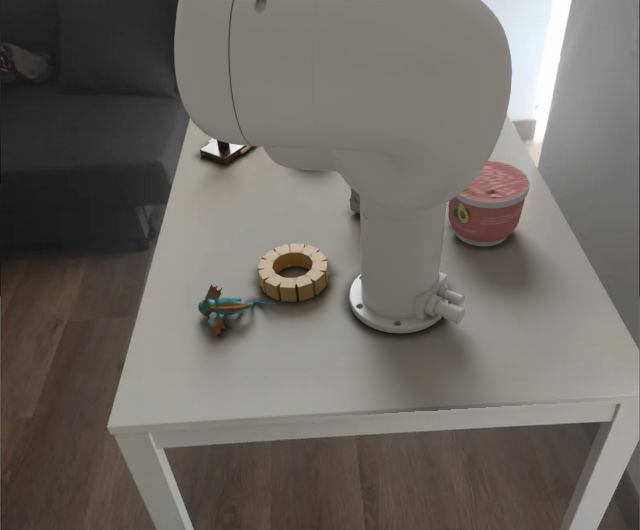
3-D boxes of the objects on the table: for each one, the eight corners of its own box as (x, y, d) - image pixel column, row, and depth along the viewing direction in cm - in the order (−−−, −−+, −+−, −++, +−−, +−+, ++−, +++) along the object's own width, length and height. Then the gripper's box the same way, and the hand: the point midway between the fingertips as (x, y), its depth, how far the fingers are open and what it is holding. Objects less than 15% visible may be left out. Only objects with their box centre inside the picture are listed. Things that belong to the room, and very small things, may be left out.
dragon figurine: (240, 274, 82) (189, 282, 77) (275, 277, 77) (223, 286, 72) (244, 322, 84) (194, 332, 79) (279, 328, 79) (228, 340, 74)
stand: (249, 149, 108) (241, 98, 101) (225, 165, 104) (215, 112, 98) (224, 141, 110) (214, 90, 103) (200, 155, 107) (189, 104, 100)
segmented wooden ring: (341, 272, 83) (341, 258, 81) (299, 311, 78) (298, 297, 77) (289, 249, 87) (287, 235, 86) (246, 285, 83) (243, 271, 81)
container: (438, 211, 91) (443, 162, 86) (509, 206, 91) (519, 157, 85) (450, 255, 84) (456, 205, 78) (527, 250, 84) (539, 200, 78)
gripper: (334, -46, 64) (340, 114, 76) (505, -43, 59) (482, 126, 72) (354, -64, 69) (356, 89, 81) (513, -63, 64) (490, 99, 77)
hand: (415, 106), depth 76 cm, fingers open, 9 cm apart
